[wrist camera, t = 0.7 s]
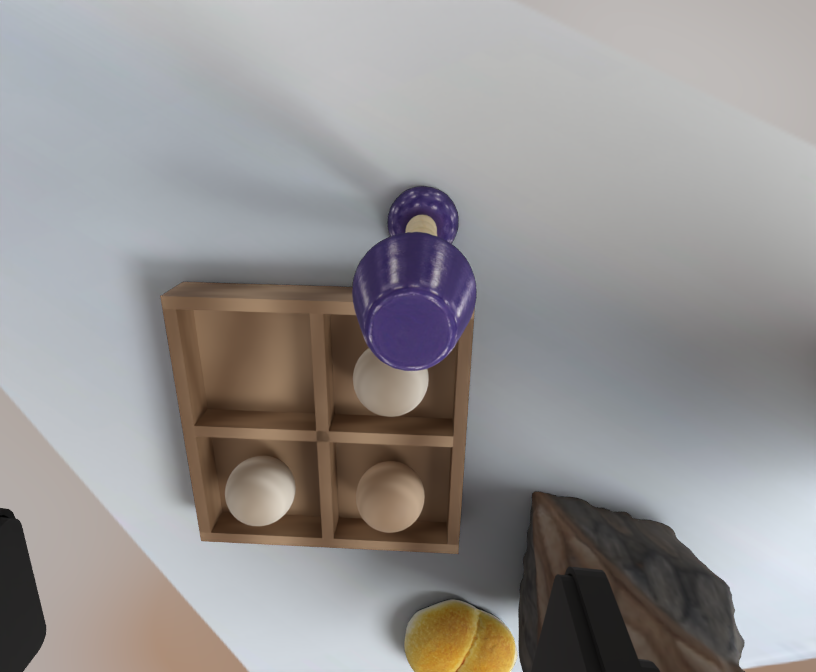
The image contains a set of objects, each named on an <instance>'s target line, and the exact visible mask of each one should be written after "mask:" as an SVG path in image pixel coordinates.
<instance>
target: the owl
mask: <svg viewBox="0 0 816 672" xmlns="http://www.w3.org/2000/svg"><path fill="white" fill-rule="evenodd" d="M523 565H524V574H523V579H522V581H521V584H520V600H519V657H520V663H521V666H522V670H523V672H531V670H532V666H533V662H534V658H535V654H536V650H537V646H538V642H539V638H540V634H541V630H542V626H543V622H544V618H545V614H546V610H547V606H548V602H549V598H550V594H551V590H552V586H553V582H554V579H555V576H556V575H557V574H559V575H565V572H566V569H567V568H568V567H579V568H589V569H599V570H603V571H604V572H605V574H606V576H607V578H608V580H609V583H610V586H611V588H612V591H613V593H614V596H615V599H616V601H617V604H618V607H619V609H620V612H621V615H622V617H623V620H624V623H625V625H626V628H627V630H628V633H629V636H630V638H631V641H632V644H633V646H634V649H635V652H636V654H637V657H638V659H644V660H649V661H652V662H653V663H654V664H655V665H656V666H657V667H658V668H659V670H660V672H745V671H743V670H742V669H741V668H740V667H739V660H740V658H741V653H742V650H743V647H744V640H743V638H742V636H741V635H740V633H739V631H738V629H737V626H736V623H735V619H734V612H735V609H734V606H733V602H732V594H731V592H730V587H729V586H728V585H727V584H726V583H725V582H724V581H723V580H722V579H721V578H719V577H718V576H717V575H715V574H714V573H713V572H712V571H711V570H709V569H708V568H707V566H706V565H705V564H703V563H702V562H701V561H700V560H698V558H697V557H696V556H695V555H694V554H693V553H692V551H691V550H690V549H689V548H687V547H686V546H685V545H684V544H682V543H681V542H680V541H679V540H678V539H677V538H676V536H675V533H674V531H673V529H671V528H670V527H669V526H667V525H665V524H663V523H659V522H655V521H651V520H639V519H635V518H632V516H631V515H630V514H628V513H627V512H613V511H610V510H608V509H605V508H598V507H594V506H592V505H590V504H589V503H588V502H587V501H585V500H582V499H578V498H573V497H557V496H556V495H552V494H549V493H543V492H533V493H532V508H531V518H530V526H529V529H528V532H527V552H526V553H525V555H524V557H523Z"/></svg>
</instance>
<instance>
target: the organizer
mask: <svg viewBox="0 0 816 672" xmlns="http://www.w3.org/2000/svg"><path fill="white" fill-rule="evenodd" d="M352 289H353V287H339V286H305V285H272V284H238V283H205V282H182V283H180V284H179V285H177V286H176V287H174V288H172V289H171V290H169V291H168V292H166V293H164V294H163V295H161V296H160V297H161V303H162V309H163V315H164V321H165V327H166V333H167V339H168V345H169V351H170V357H171V363H172V369H173V375H174V381H175V387H176V393H177V399H178V405H179V411H180V417H181V423H182V429H183V435H184V441H185V447H186V453H187V459H188V465H189V471H190V477H191V483H192V489H193V495H194V501H195V507H196V513H197V519H198V525H199V531H200V537H201V541H209V542H229V543H249V544H269V545H289V546H309V547H330V548H350V549H370V550H390V551H410V552H430V553H450V554H458V550H459V535H460V520H461V505H462V490H463V475H464V460H465V445H466V430H467V415H468V400H469V385H470V370H471V355H472V340H473V325H474V311H473V314H472V317H471V319H470V321H469V323H468V325H467V327H466V328H465V330H464V332H463V333H462V335H461V337H460V338H459V340H458V342H457V343H456V345H455V347H454V348H453V349H452V351H451V352H450V353H449V354H448V356H447V357H446V358H444V359H443V360H442V361H441V362H439V363H438V364H436V365H434V366H432V367H430V368H428V369H427V370H428V378H429V381H428V387H427V391H426V393H425V396H424V398H423V399H422V401H421V402H420V403H419V404H418V405H417V406H416V407H415V408H414V409H413V410H411V411H410V412H408V413H406V414H403V415H400V416H395V417H387V416H381V415H378V414H375V413H373V412H372V411H370V410H368V409H367V408H366V407H365V406H364V405H363V404H362V403H361V402H360V400H359V399H358V397H357V395H356V392H355V390H354V385H353V373H354V368H355V365H356V363H357V361H358V359H359V358H360V356H361V355H362V354H363V353H364V352H365V351H366V350H367V349H368V348H369V347H368V345H367V344H366V342H365V339H364V336H363V333H362V331H361V328H360V325H359V322H358V319H357V316H356V313H355V309H354V304H353V297H352ZM474 310H475V308H474ZM255 456H271V457H274V458H277V459H279V460H281V461H282V462H283V463H285V464H286V465H287V467H288V468H289V469H290V470H291V472H292V474H293V477H294V480H295V486H296V490H295V497H294V500H293V503H292V505H291V507H290V508H289V510H288V511H287V512H286V514H285V515H284V516H283V517H281V518H280V519H279V520H277V521H276V522H274V523H271V524H269V525H265V526H250V525H247V524H244V523H242V522H240V521H239V520H237V519H236V518H235V517H234V516H233V515H232V513H231V512H230V510H229V508H228V506H227V504H226V499H225V488H226V484H227V481H228V478H229V476H230V474H231V473H232V471H233V470H234V469H235V468H236V467H237V466H238V465H239V464H240V463H242V462H243V461H245V460H247V459H249V458H251V457H255ZM385 461H396V462H400V463H403V464H405V465H407V466H409V467H410V468H411V469H413V470H414V471H415V472H416V474H417V475H418V476H419V478H420V480H421V482H422V484H423V488H424V496H425V498H424V505H423V509H422V511H421V513H420V515H419V517H418V518H417V520H416V521H415V522H414V523H413V524H412V525H411V526H409V527H408V528H406V529H404V530H402V531H399V532H393V533H387V532H381V531H378V530H376V529H374V528H372V527H371V526H369V525H368V524H367V523H366V522H365V521H364V520H363V518H362V517H361V515H360V513H359V511H358V508H357V504H356V491H357V487H358V484H359V481H360V479H361V478H362V476H363V475H364V473H365V472H366V471H367V470H368V469H369V468H371V467H372V466H374V465H376V464H378V463H381V462H385Z"/></svg>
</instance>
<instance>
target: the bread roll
mask: <svg viewBox="0 0 816 672" xmlns="http://www.w3.org/2000/svg"><path fill="white" fill-rule="evenodd" d="M404 648H405V653H406V657H407V660H408V662H409V664H410V666H411V668H412V669H413V670H414V672H510V671H511V670H512V668H513V667H514V665H515V662H516V660H517V648H516V645H515V641H514V638H513V636H512V634H511V632H510V630H509V629H508V627H507V626H506V625H505V624H504V623H503V622H502V621H501V620H500V619H499V618H497V617H495V616H493V615H492V614H490V613H487V612H485V611H483V610H478V609H476V608H475V607H474V606H472V605H471V604H468V603H466V602H463V601H460V600H453V599H451V600H447V601H442V602H440V603H437V604H434V605H432V606H429V607H427V608H424V609H422V610H420V611H417V612H416V613H415V614H414V615H413V617H412V618H411V619H410V621H409V623H408V625H407V628H406V635H405V642H404Z"/></svg>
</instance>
